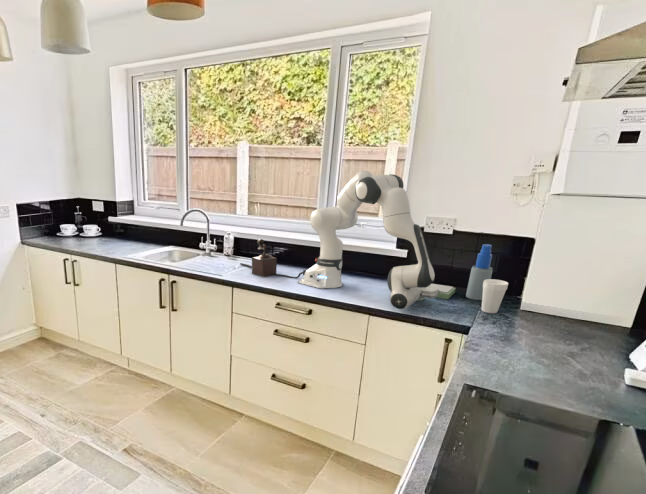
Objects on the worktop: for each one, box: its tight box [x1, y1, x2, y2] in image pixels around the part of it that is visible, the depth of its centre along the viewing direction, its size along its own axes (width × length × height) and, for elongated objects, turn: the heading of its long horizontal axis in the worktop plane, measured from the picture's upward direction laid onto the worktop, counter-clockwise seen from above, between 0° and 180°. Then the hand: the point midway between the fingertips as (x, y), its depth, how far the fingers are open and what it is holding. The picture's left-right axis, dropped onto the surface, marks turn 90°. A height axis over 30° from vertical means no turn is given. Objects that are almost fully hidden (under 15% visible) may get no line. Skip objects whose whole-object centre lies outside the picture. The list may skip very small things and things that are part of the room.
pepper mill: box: [251, 238, 278, 278], centre depth 258 cm, size 16×11×18 cm
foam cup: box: [480, 278, 509, 314], centre depth 198 cm, size 10×9×13 cm
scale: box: [429, 283, 456, 300], centre depth 224 cm, size 14×14×3 cm
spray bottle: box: [465, 243, 494, 301], centre depth 214 cm, size 9×9×25 cm
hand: (419, 286), depth 214 cm, fingers open, 7 cm apart
